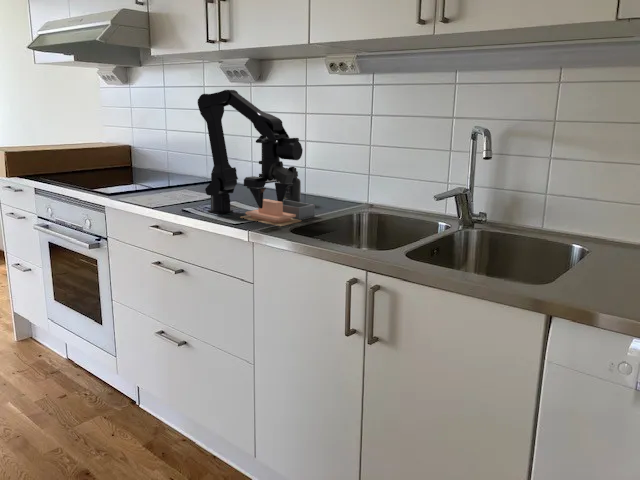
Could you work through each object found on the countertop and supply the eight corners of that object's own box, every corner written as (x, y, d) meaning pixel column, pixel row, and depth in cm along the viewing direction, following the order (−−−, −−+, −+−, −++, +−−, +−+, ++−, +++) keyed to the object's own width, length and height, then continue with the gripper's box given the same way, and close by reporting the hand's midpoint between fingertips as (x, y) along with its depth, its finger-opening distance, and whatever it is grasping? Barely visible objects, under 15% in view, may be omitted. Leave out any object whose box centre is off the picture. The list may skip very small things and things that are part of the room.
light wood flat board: (240, 217, 182) (240, 216, 182) (261, 213, 190) (261, 212, 189) (280, 226, 171) (280, 225, 171) (301, 221, 179) (301, 220, 179)
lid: (245, 217, 181) (245, 199, 180) (263, 213, 188) (263, 196, 186) (277, 223, 173) (277, 205, 171) (295, 219, 179) (295, 202, 178)
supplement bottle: (290, 200, 214) (291, 169, 212) (304, 203, 210) (304, 171, 207) (278, 203, 209) (278, 171, 206) (292, 205, 205) (292, 173, 202)
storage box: (268, 213, 189) (268, 202, 188) (283, 210, 195) (283, 199, 194) (298, 220, 181) (299, 208, 180) (314, 216, 187) (314, 204, 186)
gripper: (268, 162, 163) (268, 214, 167) (309, 158, 178) (308, 206, 181) (242, 159, 170) (242, 209, 174) (283, 155, 184) (283, 201, 188)
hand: (270, 206), depth 179 cm, fingers open, 9 cm apart
